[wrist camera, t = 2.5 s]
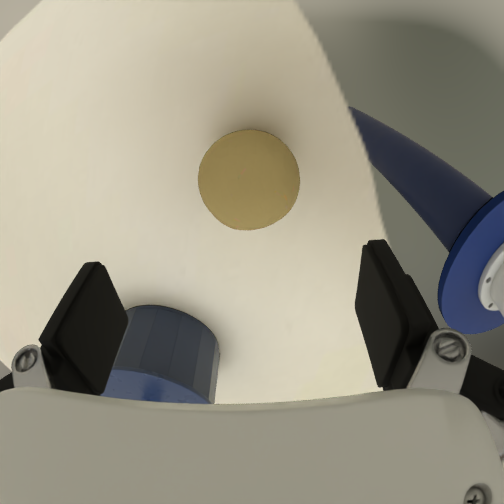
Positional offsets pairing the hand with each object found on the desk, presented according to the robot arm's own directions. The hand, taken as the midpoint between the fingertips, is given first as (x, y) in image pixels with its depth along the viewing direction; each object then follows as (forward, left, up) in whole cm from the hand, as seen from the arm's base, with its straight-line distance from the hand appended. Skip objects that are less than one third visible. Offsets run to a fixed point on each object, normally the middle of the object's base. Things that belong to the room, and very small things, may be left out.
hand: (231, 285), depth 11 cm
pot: (+14, +24, -17) cm, 33 cm away
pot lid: (+14, +24, -8) cm, 29 cm away
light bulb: (0, 0, -18) cm, 18 cm away
